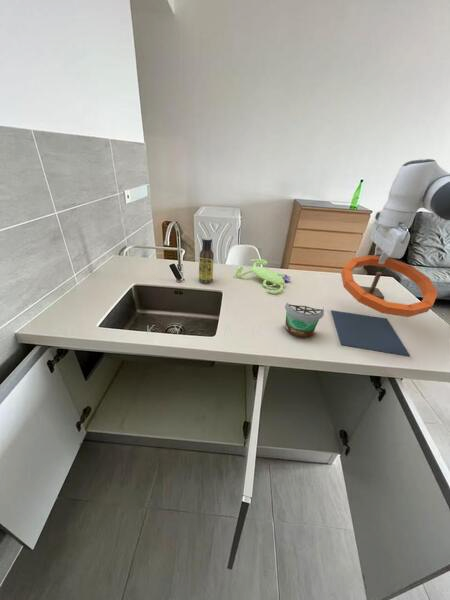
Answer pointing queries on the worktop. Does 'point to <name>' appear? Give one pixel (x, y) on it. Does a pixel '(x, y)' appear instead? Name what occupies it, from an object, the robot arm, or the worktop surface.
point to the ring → (381, 305)
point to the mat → (367, 333)
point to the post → (374, 287)
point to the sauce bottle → (206, 261)
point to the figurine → (266, 275)
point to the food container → (302, 320)
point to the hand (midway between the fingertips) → (378, 261)
